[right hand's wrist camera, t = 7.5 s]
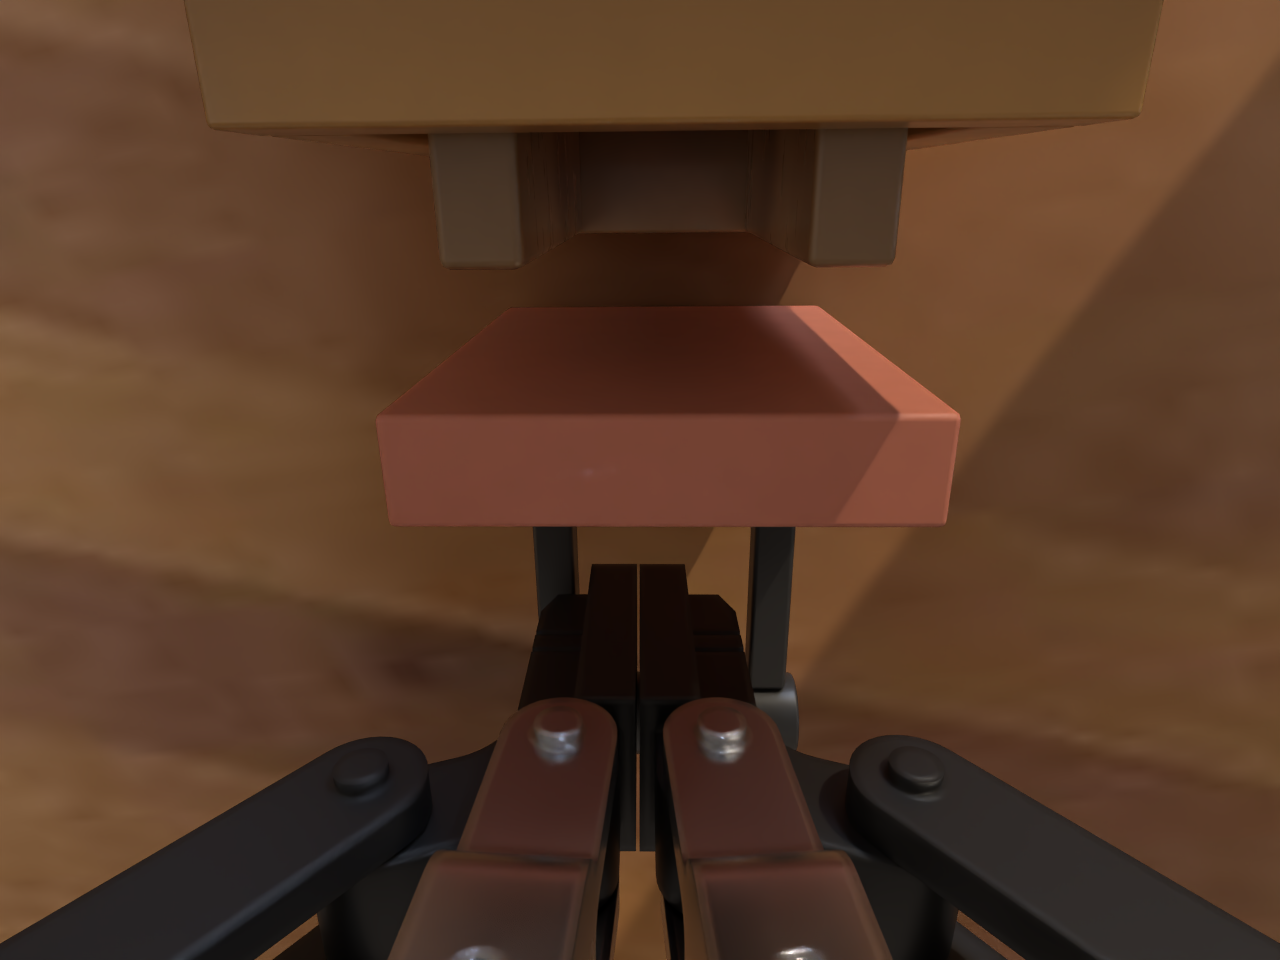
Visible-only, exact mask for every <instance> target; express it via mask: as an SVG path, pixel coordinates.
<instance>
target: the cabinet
mask: <svg viewBox="0 0 1280 960" xmlns="http://www.w3.org/2000/svg"><path fill="white" fill-rule="evenodd" d="M184 4H185V9H186V15H187V20H188V25H189V31H190V36H191V41H192V47H193V52H194V57H195V63H196V68H197V73H198V78H199V84H200V89H201V94H202V100H203V105H204V110H205V116H206V121H207V124H208V126H209V127H210V128H212V129H214V130H220V131H228V132H236V133H244V134H252V135H260V136H273V137H280V138H288V139H296V140H304V141H312V142H320V143H328V144H336V145H344V146H352V147H360V148H368V149H376V150H384V151H392V152H400V153H408V154H416V155H424V156H429V145H428V135H427V134H445V133H528V132H611V131H694V130H777V129H860V128H908V136H907V146H906V150H913V149H920V148H927V147H934V146H941V145H948V144H955V143H962V142H969V141H976V140H983V139H990V138H998V137H1005V136H1012V135H1019V134H1026V133H1033V132H1040V131H1047V130H1054V129H1061V128H1068V127H1074V126H1084V125H1091V124H1098V123H1106V122H1113V121H1120V120H1127V119H1133V118H1135V117H1137V116H1139V114H1140V112H1141V110H1142V106H1143V101H1144V95H1145V90H1146V85H1147V80H1148V75H1149V70H1150V65H1151V60H1152V55H1153V50H1154V45H1155V40H1156V35H1157V30H1158V25H1159V20H1160V15H1161V10H1162V5H1163V0H184Z"/></svg>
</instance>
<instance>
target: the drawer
mask: <svg viewBox="0 0 1280 960" xmlns="http://www.w3.org/2000/svg"><path fill="white" fill-rule="evenodd" d="M427 135H428V145H429V156H430V166H431V176H432V186H433V197H434V207H435V217H436V228H437V238H438V248H439V258H440V261H441V263H442V265H443V267H445V268H448V269H450V270H484V269H517V268H520V267H522V266H524V265H525V264H527V263H529V262H530V261H532V260H534V259H536V258H537V257H539V256H541V255H542V254H544V253H546V252H547V251H549V250H551V249H553V248H554V247H556V246H558V245H559V244H561V243H563V242H564V241H566V240H568V239H570V238H571V237H573V236H575V235H576V234H578V233H686V232H749V233H751V234H753V235H755V236H757V237H759V238H761V239H763V240H764V241H766V242H768V243H770V244H772V245H774V246H776V247H778V248H779V249H781V250H783V251H785V252H787V253H789V254H791V255H793V256H794V257H796V258H798V259H800V260H802V261H804V262H806V263H808V264H810V265H812V266H814V267H885V266H888V265H890V264H892V262H893V260H894V258H895V253H896V243H897V233H898V224H899V214H900V204H901V194H902V185H903V175H904V165H905V155H906V146H907V136H908V128H860V129H777V130H694V131H611V132H528V133H445V134H427ZM960 422H961V419H960V415H959V413H957V412H956V411H955V410H953V409H952V408H951V407H949V406H948V405H947V404H946V403H944V402H943V401H942V400H940V399H939V398H938V397H936V396H935V395H934V394H932V393H931V392H930V391H929V390H927V389H926V388H925V387H923V386H922V385H921V384H919V383H918V382H917V381H916V380H914V379H913V378H912V377H910V376H909V375H908V374H906V373H905V372H904V371H902V370H901V369H900V368H899V367H897V366H896V365H895V364H893V363H892V362H891V361H889V360H888V359H887V358H885V357H884V356H883V355H882V354H880V353H879V352H878V351H876V350H875V349H874V348H872V347H871V346H870V345H868V344H867V343H866V342H865V341H863V340H862V339H861V338H859V337H858V336H857V335H855V334H854V333H853V332H852V331H850V330H849V329H848V328H846V327H845V326H844V325H842V324H841V323H840V322H838V321H837V320H836V319H835V318H833V317H832V316H831V315H829V314H828V313H827V312H825V311H824V310H823V309H821V308H820V307H818V306H675V307H511V308H509V309H507V310H506V311H505V312H504V313H502V314H501V315H500V316H499V317H498V318H496V319H495V320H494V321H493V322H491V323H490V324H489V325H488V326H486V327H485V328H484V329H483V330H482V331H480V332H479V333H478V334H477V335H475V336H474V337H473V338H472V339H470V340H469V341H468V342H467V343H466V344H464V345H463V346H462V347H461V348H459V349H458V350H457V351H456V352H454V353H453V354H452V355H451V356H450V357H448V358H447V359H446V360H445V361H443V362H442V363H441V364H440V365H438V366H437V367H436V368H435V369H434V370H432V371H431V372H430V373H429V374H427V375H426V376H425V377H424V378H422V379H421V380H420V381H419V382H418V383H416V384H415V385H414V386H413V387H411V388H410V389H409V390H408V391H406V392H405V393H404V394H403V395H402V396H400V397H399V398H398V399H397V400H395V401H394V402H393V403H392V404H390V405H389V406H388V407H387V408H386V409H384V410H383V411H382V412H381V413H379V414H378V415H377V418H376V428H377V436H378V443H379V451H380V458H381V465H382V473H383V480H384V488H385V495H386V502H387V510H388V517H389V522H390V524H391V525H393V526H533V539H534V554H535V570H536V586H537V601H538V617H539V618H540V614H541V611H542V610H543V609H544V608H545V607H546V606H547V605H548V604H549V603H550V602H551V601H552V600H553V599H554V598H555V597H556V596H557V595H558V594H579V572H578V549H577V527H751V537H750V559H749V581H748V604H747V626H746V648H745V657H746V661H747V666H748V670H749V675H750V679H751V683H752V688H753V692H754V697H755V701H756V706H757V708H759V709H761V710H762V711H764V712H765V713H766V714H767V715H768V716H770V717H771V718H772V720H773V721H774V722H775V723H776V725H777V727H778V729H779V731H780V734H781V736H782V739H783V742H784V744H785V745H786V746H788V747H790V748H792V749H793V750H795V751H796V750H797V746H798V738H799V710H798V698H797V691H796V686H795V682H794V679H793V677H792V675H791V674H790V673H787V672H786V662H787V647H788V632H789V617H790V602H791V587H792V572H793V557H794V542H795V527H941V526H944V525H945V523H946V520H947V514H948V507H949V500H950V493H951V486H952V478H953V471H954V464H955V457H956V450H957V443H958V436H959V429H960ZM637 754H640V672H637Z"/></svg>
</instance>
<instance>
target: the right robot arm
mask: <svg viewBox="0 0 1280 960" xmlns="http://www.w3.org/2000/svg"><path fill="white" fill-rule="evenodd" d="M636 754H637V564H592V567H591V574H590V582H589V590H588V594H558V595H557V596H556V597H555V598H554V599H553V600H552V601H551V602H550V603H549V604H548V605H547V606H546V607H545V608H544V609H543V610H542V611H541V614H540V618H539V622H538V626H537V631H536V635H535V639H534V643H533V651H532V652H531V656H530V661H529V665H528V669H527V673H526V678H525V682H524V686H523V690H522V695H521V699H520V703H519V707H518V711H517V712H515V713H514V714H513V715H512V716H511V717H510V718H509V719H508V720H507V721H506V723H505V724H504V726H503V728H502V730H501V732H500V735H499V737H498V740H496V741H495V742H493V743H492V744H490V745H489V746H487V747H485V748H483V749H481V750H479V751H476V752H474V753H471V754H468V755H465V756H461V757H458V758H453V759H449V760H445V761H440V762H436V763H432V764H428V763H427V760H426V757H425V755H424V754H423V752H422V751H421V750H420V749H419V748H418V747H417V746H416V745H414V744H412V743H410V742H408V741H405V740H402V739H399V738H393V737H370V738H364V739H359V740H355V741H352V742H348V743H346V744H343V745H341V746H338V747H336V748H334V749H332V750H330V751H328V752H326V753H325V754H323V755H321V756H320V757H318V758H316V759H314V760H313V761H311V762H309V763H308V764H306V765H304V766H303V767H301V768H299V769H297V770H296V771H294V772H292V773H291V774H289V775H287V776H285V777H284V778H282V779H280V780H279V781H277V782H275V783H274V784H272V785H270V786H268V787H267V788H265V789H263V790H262V791H260V792H258V793H256V794H255V795H253V796H251V797H250V798H248V799H246V800H245V801H243V802H241V803H239V804H238V805H236V806H234V807H233V808H231V809H229V810H227V811H226V812H224V813H222V814H221V815H219V816H217V817H215V818H214V819H212V820H210V821H209V822H207V823H205V824H204V825H202V826H200V827H198V828H197V829H195V830H193V831H192V832H190V833H188V834H186V835H185V836H183V837H181V838H180V839H178V840H176V841H175V842H173V843H171V844H169V845H168V846H166V847H164V848H163V849H161V850H159V851H157V852H156V853H154V854H152V855H151V856H149V857H147V858H146V859H144V860H142V861H140V862H139V863H137V864H135V865H134V866H132V867H130V868H128V869H127V870H125V871H123V872H122V873H120V874H118V875H117V876H115V877H113V878H111V879H110V880H108V881H106V882H105V883H103V884H101V885H99V886H98V887H96V888H94V889H93V890H91V891H89V892H88V893H86V894H84V895H82V896H81V897H79V898H77V899H76V900H74V901H72V902H70V903H69V904H67V905H65V906H64V907H62V908H60V909H58V910H57V911H55V912H53V913H52V914H50V915H48V916H47V917H45V918H43V919H41V920H40V921H38V922H36V923H35V924H33V925H31V926H29V927H28V928H26V929H24V930H23V931H21V932H19V933H18V934H16V935H14V936H12V937H11V938H9V939H7V940H6V941H4V942H2V943H0V960H254V959H256V958H257V957H258V956H260V955H261V954H262V953H264V952H265V951H267V950H268V949H269V948H271V947H272V946H273V945H275V944H276V943H277V942H279V941H280V940H281V939H283V938H284V937H285V936H287V935H288V934H289V933H291V932H292V931H293V930H295V929H296V928H297V927H299V926H300V925H301V924H303V923H304V922H305V921H307V920H308V919H309V918H311V917H312V916H314V915H315V914H316V913H317V917H318V922H319V925H318V926H316V927H315V928H314V929H312V930H311V931H310V932H308V933H307V934H306V935H305V936H303V937H302V938H301V939H299V940H298V941H297V942H295V943H294V944H293V945H291V946H290V947H289V948H287V949H286V950H285V951H283V952H282V953H281V954H279V955H278V956H277V957H276V958H274V959H273V960H614V952H615V943H616V935H617V926H618V917H619V862H620V851H636ZM640 851H655V858H656V879H657V884H658V887H659V890H660V891H661V914H662V923H663V931H664V940H665V949H666V957H667V960H1007V959H1006V958H1005V957H1003V956H1002V955H1001V954H999V953H998V952H997V951H995V950H994V949H993V948H991V947H990V946H989V945H987V944H986V943H985V942H983V941H982V940H981V939H979V938H978V937H977V936H976V935H974V934H973V933H972V932H970V931H969V930H968V929H966V928H965V927H964V926H962V925H961V924H960V923H958V922H957V921H956V920H957V915H958V910H960V911H961V912H963V913H964V914H965V915H967V916H968V917H969V918H971V919H972V920H973V921H975V922H976V923H977V924H979V925H980V926H981V927H983V928H984V929H985V930H987V931H988V932H989V933H991V934H992V935H993V936H995V937H996V938H997V939H999V940H1000V941H1001V942H1003V943H1004V944H1005V945H1007V946H1008V947H1010V948H1011V949H1012V950H1014V951H1015V952H1016V953H1018V954H1019V955H1020V956H1022V957H1023V958H1024V959H1026V960H1280V943H1278V942H1276V941H1274V940H1273V939H1271V938H1269V937H1268V936H1266V935H1264V934H1262V933H1261V932H1259V931H1257V930H1256V929H1254V928H1252V927H1251V926H1249V925H1247V924H1245V923H1244V922H1242V921H1240V920H1239V919H1237V918H1235V917H1233V916H1232V915H1230V914H1228V913H1227V912H1225V911H1223V910H1222V909H1220V908H1218V907H1216V906H1215V905H1213V904H1211V903H1210V902H1208V901H1206V900H1204V899H1203V898H1201V897H1199V896H1198V895H1196V894H1194V893H1193V892H1191V891H1189V890H1187V889H1186V888H1184V887H1182V886H1181V885H1179V884H1177V883H1175V882H1174V881H1172V880H1170V879H1169V878H1167V877H1165V876H1164V875H1162V874H1160V873H1158V872H1157V871H1155V870H1153V869H1152V868H1150V867H1148V866H1146V865H1145V864H1143V863H1141V862H1140V861H1138V860H1136V859H1135V858H1133V857H1131V856H1129V855H1128V854H1126V853H1124V852H1123V851H1121V850H1119V849H1117V848H1116V847H1114V846H1112V845H1111V844H1109V843H1107V842H1106V841H1104V840H1102V839H1100V838H1099V837H1097V836H1095V835H1094V834H1092V833H1090V832H1088V831H1087V830H1085V829H1083V828H1082V827H1080V826H1078V825H1077V824H1075V823H1073V822H1071V821H1070V820H1068V819H1066V818H1065V817H1063V816H1061V815H1059V814H1058V813H1056V812H1054V811H1053V810H1051V809H1049V808H1048V807H1046V806H1044V805H1042V804H1041V803H1039V802H1037V801H1036V800H1034V799H1032V798H1030V797H1029V796H1027V795H1025V794H1024V793H1022V792H1020V791H1018V790H1017V789H1015V788H1013V787H1012V786H1010V785H1008V784H1007V783H1005V782H1003V781H1001V780H1000V779H998V778H996V777H995V776H993V775H991V774H989V773H988V772H986V771H984V770H983V769H981V768H979V767H978V766H976V765H974V764H972V763H971V762H969V761H967V760H966V759H964V758H962V757H960V756H959V755H957V754H955V753H954V752H952V751H950V750H948V749H946V748H945V747H943V746H941V745H938V744H936V743H933V742H931V741H928V740H924V739H921V738H917V737H911V736H904V735H886V736H880V737H876V738H873V739H870V740H868V741H866V742H864V743H862V744H861V745H860V746H858V747H857V748H856V750H855V751H854V752H853V754H852V756H851V759H850V764H849V765H846V764H841V763H837V762H833V761H829V760H824V759H820V758H816V757H812V756H809V755H806V754H803V753H800V752H798V751H795V750H793V749H792V748H790V747H788V746H786V745H785V744H784V742H783V739H782V736H781V734H780V731H779V729H778V727H777V725H776V723H775V722H774V721H773V720H772V718H771V717H770V716H768V715H767V714H766V713H765V712H764V711H762V710H761V709H759V708H757V706H756V701H755V697H754V692H753V688H752V683H751V679H750V675H749V670H748V666H747V661H746V657H745V652H744V651H743V643H742V639H741V635H740V630H739V625H738V621H737V617H736V612H735V611H734V610H733V609H732V608H731V607H730V606H729V605H728V604H727V603H726V602H725V601H724V600H723V599H722V598H721V597H720V596H719V595H688V587H687V579H686V570H685V564H640Z"/></svg>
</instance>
